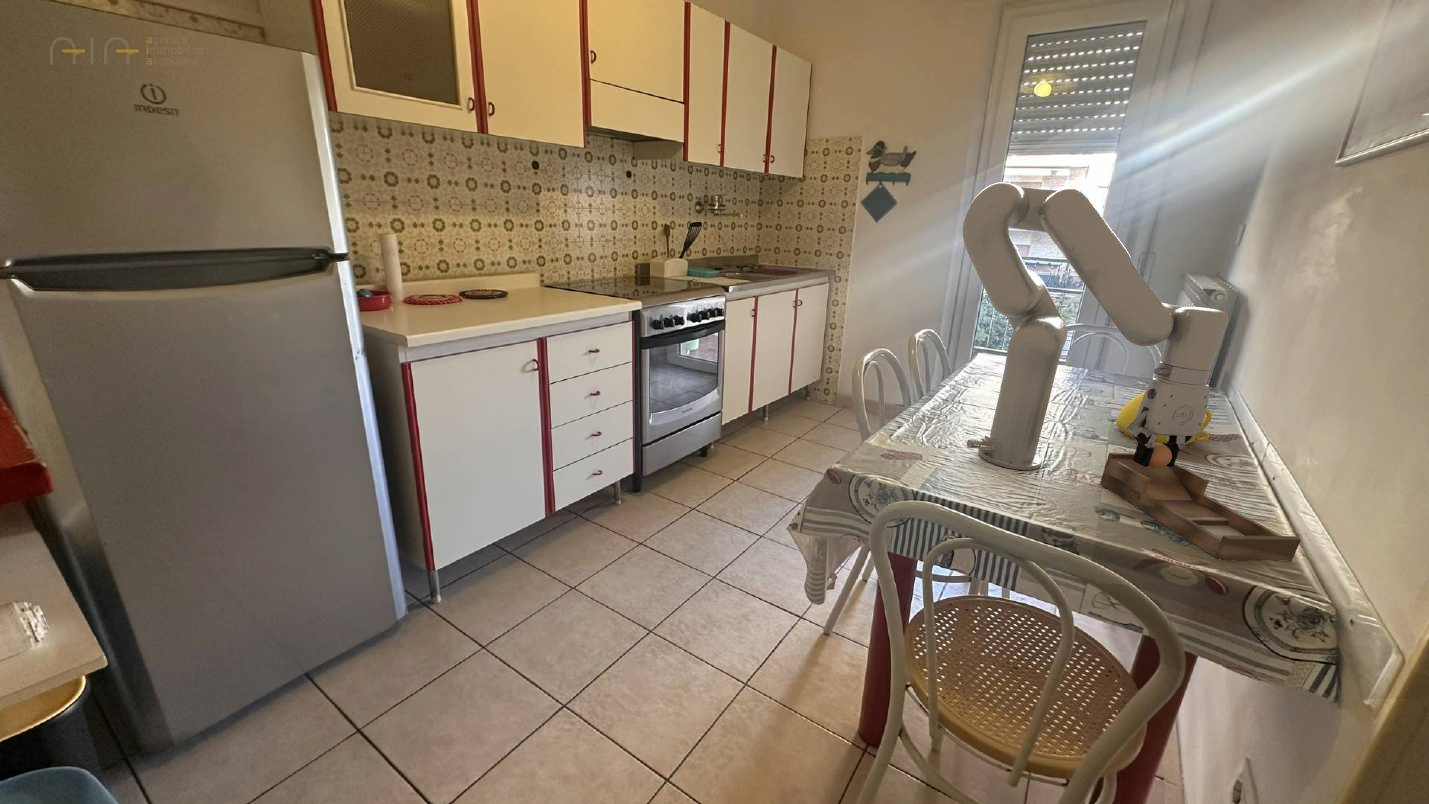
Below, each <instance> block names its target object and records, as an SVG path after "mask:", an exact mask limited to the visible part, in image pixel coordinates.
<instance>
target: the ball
mask: <svg viewBox="0 0 1429 804" xmlns="http://www.w3.org/2000/svg"><path fill="white" fill-rule="evenodd" d="M1151 447H1152V448H1154V451H1153V454H1152V457H1151V460H1150V463H1149V466H1151V467H1163V466H1165V465H1167V464H1168V463H1169V462H1170V461H1171V459H1172V453H1171V451H1170V449H1169V448H1168V447H1167V446H1165V445H1163V444H1161V443H1153V445H1152V446H1151Z"/></svg>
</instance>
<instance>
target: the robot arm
mask: <svg viewBox="0 0 1429 804" xmlns="http://www.w3.org/2000/svg"><path fill="white" fill-rule="evenodd" d="M1009 229H1017V230H1023V231H1030V232H1031V231H1032V232H1039V233H1040V232H1041V233H1047V235H1048V236H1049V238H1050V239H1051V240H1052V242H1053V243H1054V244H1055V245H1056V246H1057V248H1058V249H1059V251H1060V252H1061V254H1063V256H1064V258H1066V260H1067V262H1068V263H1069V264H1070V266H1071V267H1072V269H1073V270H1074V272H1075V273H1076V274H1077V276H1078V277H1079V278H1080V281H1082V283H1083V284H1084V285H1085V287H1087V289H1088V290H1089V291H1090V292H1091V294H1092V295H1093V296H1094V297H1095V299H1096V300H1097V302H1098V303H1099V305H1100V306H1101V308H1102V309H1103V311H1104V312H1105V313H1106V315H1107V316H1108V318H1110V320H1111V321H1112V324H1114V325H1115V327H1116V328H1117V329H1118V331H1119V332H1120V333H1121V335H1122V336H1123V338H1125V340H1127V342H1129V343H1130V344H1133V345H1136V346H1140V347H1150V346H1156V345H1157V344H1161V343H1162V342H1164V341H1165V345H1164V348H1163V352H1162V354H1161V357H1160V361H1159V364H1158V367H1156V368H1154V370H1153V373H1154V374H1155V377H1154V378H1152V379H1151V381H1150V383H1149V384H1148V386H1147V387H1146V390H1145V391H1144V392H1145V394H1144V396H1143V398H1142V401H1141V403H1140V406H1139V409H1138V411H1137V415H1136V419H1135V420H1134V421H1133V422H1132V423H1131V424H1130V425H1128V427H1127V430H1128V431H1130V432H1131V433H1132V434H1133V436H1134V437H1135V439H1134V440H1135V442H1136V443H1137V445H1136V448H1135V451H1134V453H1135V454H1134V457H1133V461H1134V462H1136V463H1138V464H1140V465H1142V466H1144V467H1148V466H1149V463H1150V460H1151V457H1152V454H1153V451H1154V448H1152V447H1151V446H1152V445H1153V443H1154V441H1155V440H1156V438H1157V436H1158V435H1167V443H1166V442H1163V445H1165V446H1167V447H1168V448H1169V449H1170V451H1171V453H1172V459H1171V461H1170V462H1169V463H1168V464H1167V465H1166V466H1168V467H1174V464H1175V463H1176V460H1177V459H1178V454H1179V452H1180V449H1183V448H1184V447H1185V446H1186V445H1185V443H1186V442H1187V441H1189V440H1190V439H1191V438H1192V437H1194V436H1196V435H1197V434H1199V433H1200V432H1201V427H1202V424H1203V422H1204V420H1205V418H1206V409H1208V404H1209V399H1210V385H1209V384H1207V383H1208V381H1209V377H1210V375H1211V372H1212V369H1213V366H1214V363H1215V361H1216V358H1217V355H1218V352H1219V349H1220V347H1221V344H1222V340H1223V337H1224V334H1225V332H1226V329H1227V325H1228V323H1229V315H1228V313H1227V312H1225V311H1223V310H1219V309H1215V308H1209V307H1201V306H1200V307H1198V306H1180V305H1174V304H1170V303H1164V302H1162V301H1161V300H1160V298H1158V296H1157V295H1156V293H1155V292H1154V291H1153V289H1152V288H1151V286H1150V285H1149V284H1148V283H1147V281H1146V280H1145V279H1144V277H1143V276H1142V274H1141V273H1140V271H1139V270H1138V268H1137V267H1136V265H1135V263H1134V262H1133V260H1132V259H1133V258H1132V257H1131V255H1130V253H1129V251H1128V250H1127V248H1126V247H1125V245H1124V244H1123V243H1122V241H1121V240H1120V239H1119V237H1118V236H1117V234H1116V233H1115V232H1114V231H1113V230H1112V228H1111V227H1110V226H1109V224H1108V223H1107V221H1106V220H1105V219H1104V218H1103V216H1102V215H1101V214H1100V212H1099V211H1098V210H1097V209H1096V207H1095V206H1094V204H1093V203H1092V202H1091V201H1090V198H1088V196H1087V195H1086V194H1085V193H1084V192H1083V191H1080V190H1079V189H1076V188H1069V187H1068V188H1063V189H1059V190H1058V189H1056V190H1055V189H1045V188H1044V189H1043V188H1035V187H1025V186H1017V185H1015V184H1014V183H1010V182H1005V181H1003V182H996V183H992V184H990V185H988V186H986V187H985V188H984V189H982V190H980V192H979V193H978V194H977V195H976V196H975V197H974V198H973V200H972V201H971V203H970V204H969V206H968V209H967V210H966V213H965V215H964V220H963V224H962V238H963V243H964V246H965V249H966V251H967V254H968V257H969V258H970V261H971V262H972V264H973V267H974V269H975V271H976V273H977V276H978V278H979V280H980V281H981V285H982V286H983V288H984V290H985V292H986V294H987V296H988V299H989V301H990V304H991V305H992V307H993V309H994V310H995V311H996V312H997V313H998V314H1000V315H1002V316H1004V317H1006V319H1007V321H1008V322H1009V324H1010V325H1011V328H1012V330H1013V332H1012V334H1011V335H1010V339H1009V342H1008V347H1007V351H1006V359H1005V365H1004V370H1003V374H1002V377H1001V378H1002V379H1001V384H1000V389H999V393H998V398H997V403H996V407H995V411H994V416H993V419H992V424H991V429H990V433H989V434H985V436H984V438H981V439H967V441H966V447H967V448H968V449H978V454H979V456H980V457H981V458H982V459H984V460H985V461H986V462H989V463H991V464H993V465H997V466H1000V467H1003V468H1007V469H1011V470H1012V469H1013V470H1016V471H1017V470H1019V471H1033V470H1038V469H1039V468H1040V467H1041V466H1042V464H1043V463H1042V462H1043V461H1042V458H1041V457H1040V456H1039V455H1038V454H1037V450H1038V449H1037V448H1038V446H1039V442H1040V439H1041V437H1040V436H1041V434H1042V431H1043V426H1044V421H1045V420H1046V419H1045V418H1046V414H1047V411H1048V406H1049V403H1050V398H1051V394H1052V390H1053V386H1054V383H1055V378H1056V374H1057V370H1058V366H1059V361H1060V359H1061V355H1062V353H1063V349H1064V346H1065V344H1066V342H1067V339H1068V338H1067V337H1068V330H1067V325H1066V323H1065V321H1064V319H1063V317H1062V315H1061V313H1060V311H1059V309H1058V308H1057V305H1056V303H1055V302H1054V299H1053V298H1052V296H1051V294H1050V292H1049V290H1048V288H1047V286H1046V284H1045V282H1044V281H1043V279H1042V278H1041V277H1040V276H1039V274H1037V273H1036V272H1034V271H1032V270H1029V269H1028V268H1027V266H1026V264H1025V263H1024V260H1023V258H1022V256H1021V254H1020V252H1019V249H1018V247H1017V246H1016V244H1015V243H1014V241H1013V239H1012V236H1011V235H1010V234H1011V233H1010V232H1009ZM1141 427H1142V429H1141V430H1140V428H1141ZM1147 433H1150V435H1149V437H1148V438H1147V437H1146V435H1147Z"/></svg>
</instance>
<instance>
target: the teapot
mask: <svg viewBox="0 0 1429 804" xmlns="http://www.w3.org/2000/svg"><path fill="white" fill-rule="evenodd" d="M1145 392H1146V391H1143V392H1140V393H1139V394H1137V395H1136V396H1134V398H1132V399H1131V400H1130V401H1129V402H1127V403H1126V404H1125V405H1124V406H1123V408H1122V409H1121V410H1120V412H1119V413H1118V415H1117V417H1116V425H1117V427H1118V428H1119V430H1120V431H1121V433H1122V434H1124V435H1125V434H1126V436H1127V437H1129V438H1132V439H1134V440H1136V439H1135V437H1134V436H1133V434H1132V433H1131V432H1130V431H1128V430H1127V427H1128V425H1130V424H1131V423H1132V422H1133V421H1134V420H1135V419H1136V415H1137V411H1138V409H1139V406H1140V403H1141V401H1142V398H1143V396H1144V394H1145ZM1212 418H1213V414H1212V411H1211V410H1210V409H1209V408H1207V409H1206V413H1205V417H1204V421H1203V424H1202V427H1201V432H1200V433H1199V434H1197V435H1196V436H1194V437H1192V438H1191V439H1190V440H1189V441H1187V442H1186V443H1185V445H1184V446H1186V445H1188V444H1190V443H1192V442H1194V441H1198V442H1201V443H1202V442H1207V441H1208V440H1209V439H1210V433H1209V432H1208V431H1206V430H1205V429H1206V428H1207V426H1208V425H1209V424H1210V423H1211V420H1212ZM1141 429H1142V427H1141V428H1140V430H1141ZM1149 435H1150V433H1147V435H1146V437H1147V438H1148V437H1149ZM1201 435H1204V436H1203V437H1201ZM1163 442H1166V443H1167V435H1158V436H1157V438H1156V440H1155V441H1154V443H1161V444H1163Z"/></svg>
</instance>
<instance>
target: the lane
mask: <svg viewBox="0 0 1429 804" xmlns="http://www.w3.org/2000/svg"><path fill="white" fill-rule="evenodd" d="M1134 454H1135V452H1108V456H1107V458H1106V463H1105V465H1104V469H1103V472H1102V475H1101V479H1100V482H1099V485H1101V486H1103V487H1105V489H1107V490H1109V491H1111V492H1112V493H1113V494H1115V495H1117V496H1118V497H1120V498H1121V499H1123V500H1124V501H1126V502H1128V503H1129V504H1131V505H1132V504H1133V505H1132V506H1134V507H1135V508H1137V507H1138V508H1137V509H1139V510H1140V511H1142V510H1143V511H1142V512H1143V513H1145V514H1146V513H1147V514H1146V515H1148V516H1149V517H1151V518H1153V520H1156V521H1157V522H1159V523H1160V524H1162V525H1163V526H1164V527H1166V528H1168V529H1170V530H1172V531H1173V532H1175V533H1176V534H1178V535H1179V536H1180V537H1182V536H1183V537H1182V538H1184V539H1185V540H1187V539H1188V541H1189V542H1190V541H1191V542H1190V543H1192V542H1193V543H1194V544H1193V543H1192V544H1193V545H1195V544H1196V545H1198V546H1199V547H1198V546H1197V547H1198V548H1199V549H1201V548H1202V549H1201V550H1203V551H1204V552H1206V553H1207V554H1209V553H1210V554H1211V556H1212V557H1213V558H1215V557H1216V559H1217V560H1218V559H1220V560H1292V561H1293V559H1294V557H1295V555H1296V552H1297V550H1298V548H1299V546H1300V543H1301V541H1302V539H1301V538H1299V537H1297V536H1295V535H1281V534H1280V533H1277V532H1275V531H1274V530H1272V529H1270V528H1268V527H1266V526H1264V525H1262V524H1261V523H1260V522H1259V523H1258V522H1257V521H1255V520H1253V519H1251V518H1249V517H1247V516H1245V515H1243V514H1242V513H1240V512H1239V511H1236V510H1234V509H1232V508H1230V507H1228V506H1226V505H1224V503H1221V502H1219V501H1217V500H1215V499H1214V498H1211V497H1209V496H1208V495H1205V492H1206V490H1207V487H1208V484H1209V481H1210V479H1208V478H1207V477H1204V476H1203V475H1200V474H1198V473H1196V472H1194V471H1192V470H1189V469H1188V468H1186V467H1184V466H1182V465H1181V464H1178V463H1176V462H1175V464H1174V467H1168V466H1166V465H1165V466H1163V467H1151V466H1148V467H1144V466H1142V465H1140V464H1138V463H1136V462H1134V461H1133V457H1134ZM1196 545H1195V546H1196ZM1210 554H1209V555H1210ZM1220 560H1219V561H1220Z"/></svg>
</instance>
